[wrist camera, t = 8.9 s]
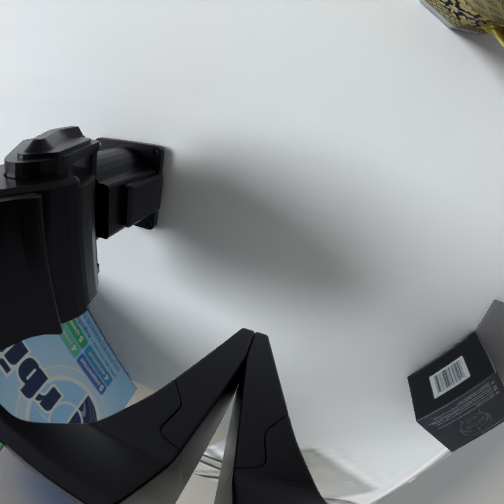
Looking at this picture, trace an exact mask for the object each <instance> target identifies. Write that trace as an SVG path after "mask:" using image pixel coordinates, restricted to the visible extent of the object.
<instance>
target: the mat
mask: <svg viewBox="0 0 504 504" xmlns="http://www.w3.org/2000/svg"><path fill="white" fill-rule="evenodd" d="M476 332H477V334H478V336H479V337H480V339H481V341H482V343H483V345H484V347H485V348H486V350H487V352H488V354H489V356H490V358H491V360H492V362H493V364H494V366H495V368H496V370H497V372H498V374H499V377H500V379H501V382H502V384H503V386H504V303H502V302H500V301H497V300H494V302H493V303H492V305H491V307H490V309H489V310H488V312H487V314H486V315H485V317H484V319H483V320H482V322H481V323H480V325H479V327H478V328H477V330H476Z"/></svg>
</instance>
